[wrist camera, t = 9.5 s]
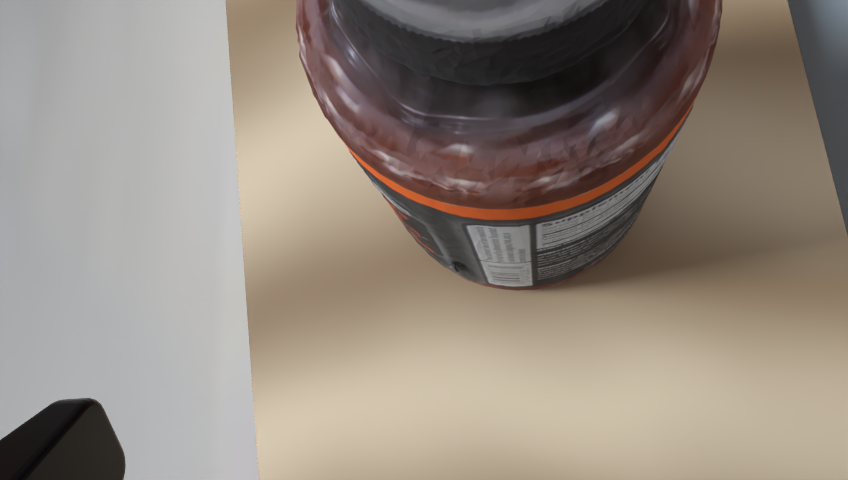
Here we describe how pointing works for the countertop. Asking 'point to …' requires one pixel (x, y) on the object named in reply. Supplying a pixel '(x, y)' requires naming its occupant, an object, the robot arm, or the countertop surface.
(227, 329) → the countertop surface
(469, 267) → the supplement bottle
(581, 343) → the birch board
